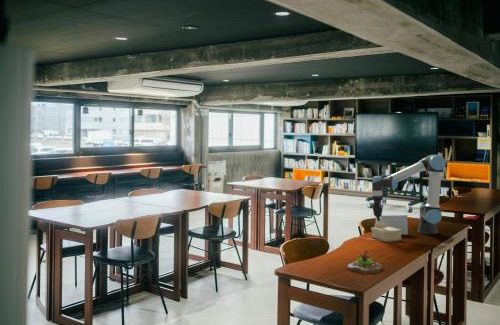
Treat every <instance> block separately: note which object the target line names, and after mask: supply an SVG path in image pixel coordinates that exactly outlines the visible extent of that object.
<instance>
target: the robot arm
mask: <svg viewBox="0 0 500 325" xmlns="http://www.w3.org/2000/svg"><path fill="white" fill-rule="evenodd" d="M446 165H447V161H446V159H445V158H444V157H443V156H442V155H440V154H429V155H427V156H426V157H424V158H422V159H420V160H419V161H418V162H416V163H414V164H413V165H410V166H408V167H406V168H403V169H402V170H400V171H398V172H397V171H396V172H395V173H392V174H390V175H388V176H385V177H382V176H379V175H378V176H377V175H376V176H375V175H374V176H372V179H371V180H372V182H371V183H372V187H371V188H372V192H371V193H372V201H373V203H371V206H372V211H373V216H374V217H375V224H377V223H380V216H382V215H383V208H384V204H382V201H383V189H397V188H398V185H399V182H401V181H403V180H406V179H407V178H410V177H411V176H412V177H413V176H414V175H416V174H419V173H421V172H423V171H424V172H426V171H427V173H428V174H429V176H428V187H427V188H428V189H427V190H428V191H427V201H426V202H427V203H426V204H421V205H420V206H419V225H418V228H417V233H418V234H422V235H436V234H438V229H437V226H436V225H437V224H438V223H439V222H441V220H442V218H443V216H442V213H441V212H442V211H441V208H442V207H441V205H440V196H441V195H440V194H441V181H442V175H443V174H444V168H446Z"/></svg>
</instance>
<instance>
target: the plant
mask: <svg viewBox="0 0 500 325" xmlns="http://www.w3.org/2000/svg"><path fill="white" fill-rule="evenodd" d="M367 253H369V250H367V249H366V250H364V253H363V255H362V254H359V255H358V256H357V259H356V261H354V262H351V263H348V264H347V266H346V270H348V271H350V272H357V273H360V274H370V275H372V274H376V273H380V272H381V271H383V270H384V265H382V264H381V263H379V262H375V261H373V256H371V255H367V256H366V254H367Z"/></svg>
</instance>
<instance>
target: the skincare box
mask: <svg viewBox="0 0 500 325" xmlns="http://www.w3.org/2000/svg"><path fill="white" fill-rule="evenodd" d="M380 223H386V226H391V227H394V228H398V229H401V230H402V233H401V236H402V235H409V233H408V232H409V230H408V225H409V224H408V214H382V216H380Z"/></svg>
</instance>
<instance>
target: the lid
mask: <svg viewBox="0 0 500 325" xmlns="http://www.w3.org/2000/svg"><path fill="white" fill-rule="evenodd" d="M370 231H371V232H372V231H375V232H378V233H381V234H385V233H386V232H397V231H401V233H402V230H401V229H398V228H394V227H391V226H386V223H377V224H376V223H374V226H373V227H372V226H371V227H370Z"/></svg>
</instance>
